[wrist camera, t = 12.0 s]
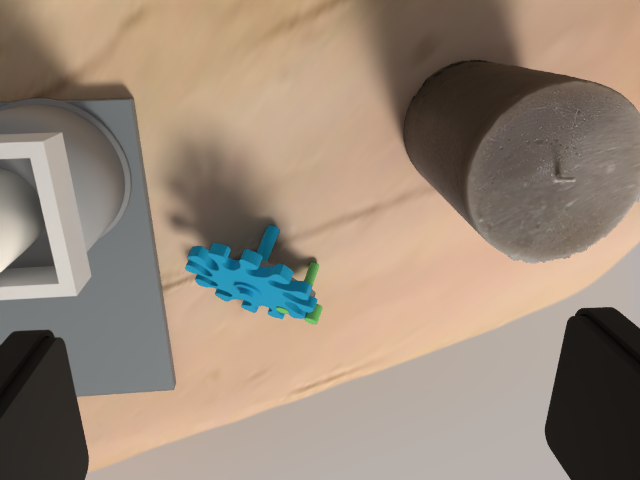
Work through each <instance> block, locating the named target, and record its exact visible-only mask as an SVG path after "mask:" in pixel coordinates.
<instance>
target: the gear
mask: <svg viewBox="0 0 640 480" xmlns="http://www.w3.org/2000/svg"><path fill="white" fill-rule="evenodd" d="M279 232H280V230H279V229H278V228H277V227H275V226H273V225H268V226H267V229H266V231H265V234H264V236H263V238H262V241H261V243H260V246H259V248H258V250H257V253H256V252H254V251H251V250H249V249H245V250H244V251H243V254H242V256H241V258H240V260H234V259H231V258H229V257H228V256H229V253H230V251H231V249H230V248H229V247H228V246H226V245H222V244H218V243H212V246H211V248H210V250H209V251H208V250H207V249H206V248H204V247H202V246H195V247H192V249H191V251H190V253H189V255H188V258H189V261H188V263H187V265H186V267H185V269H186V270H187V271H189V272H192V273H195V274H197V276H196V278H195V280H196V282H197V283H198V284H199V285H200V286H203V287H212V288H217V290H216V292H215V295H216V296H218V297H219V298H221V299H222V300H224V301H230V300H232V299H239V300H244V301H243V303H242V306H241V307H242V308H244V309H246V310H249V311H251V312H257V309H258V307H259V306H266V307H269V311H268V314H269V315H270V316H272V317H276V318H280V319H283V318H284V315H285V314H288V313H289V315H290V316H291V317H293V318H299V319H302V318H305V321H306V322H308V323H311V324H317V323H318V320H319V317H320V314H321V311H322V306H320V305H318V304H316V303H317V299H316V298H314V297H315V292H314V291H313V290H312V285H313V282H314V279H315V276H316V274H317V271H318V268H319V265H318V264H317V263H314V262H311V263H310V266H309V269H308V271H307V274H306V277H305V280H304V281H297V280H295V279H294V278H292V275H293V271H292V270H291V269H289V268H288V267H287V266H285V265H284V264H276V265H275V266H272V265H270V264H269V263H267V261H268V259H269V256H270V254H271V251H272V249H273V247H274V244H275V242H276V239H277V237H278V234H279Z"/></svg>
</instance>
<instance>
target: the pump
mask: <svg viewBox="0 0 640 480" xmlns="http://www.w3.org/2000/svg"><path fill="white" fill-rule="evenodd" d="M44 226H45V220H44V216H43V212H42V208H41V203H40V199H39V195H38V193H37V192H36V190H35V189H34V188H33V187H32V186H31V185H30V184H29V183H28V182H27V181H26V180H25V179H23V178H22V177H20V176H19V175H17V174H15V173H13V172H10V171H7V170H4V169H0V272H2V271H3V270H4V269H5V268H6V267H7V266H8V265H10V264H11V263H12V262H13V261H14V260H15V259H16V258H17V257H19V256H20V255H21V254H22V253H23V252H24V251H25V250H26V249H28V248H29V247H30V246H31V245H32V244H33V243H34V242H35V241H36V240H37V239H38V238H39V237H40V235H41V234H42V232H43V230H44Z"/></svg>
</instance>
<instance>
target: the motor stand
mask: <svg viewBox="0 0 640 480" xmlns="http://www.w3.org/2000/svg"><path fill="white" fill-rule="evenodd" d="M0 169H4V170H7V171H10V172H13V173H15V174H17V175H19V176H20V177H22V178H23V179H25V180H26V181H27V182H28V183H29V184H30V185H31V186H32V187H33V188H34V189H35V190H36V192H37V193H38V195H39V199H40V203H41V208H42V212H43V216H44V220H45V226H44V230H43V232H42V234H41V235H40V237H39V238H38V239H37V240H36V241H35V242H34V243H33V244H32V245H31V246H30V247H29V248H28V249H26V250H25V251H24V252H23V253H22V254H21V255H20V256H19V257H17V258H16V259H15V260H14V261H13V262H12V263H11V264H10V265H8V266H7V267H6V268H5V269H4V270H3V271H2V272H0V345H1V344H2V343H3V342H4V340H5V339H6V338H7V337H8V336H9V335H10V334H11V333H12V332H13V331H25V330H50V331H52V332H53V334H54V336H55V337H61V338H63V340H64V342H65V345H66V349H67V354H68V359H69V364H70V369H71V373H72V378H73V383H74V388H75V392H76V397H79V396H94V395H109V394H123V393H138V392H152V391H167V390H174V388H175V385H176V379H175V372H174V365H173V359H172V352H171V345H170V339H169V332H168V325H167V318H166V312H165V305H164V298H163V292H162V285H161V278H160V271H159V265H158V258H157V251H156V244H155V238H154V231H153V224H152V218H151V211H150V204H149V197H148V191H147V184H146V177H145V171H144V164H143V157H142V150H141V144H140V137H139V130H138V124H137V117H136V110H135V103H134V98H124V99H89V100H55V99H49V98H33V99H25V100H21V101H17V102H0Z"/></svg>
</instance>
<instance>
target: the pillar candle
mask: <svg viewBox="0 0 640 480" xmlns="http://www.w3.org/2000/svg"><path fill="white" fill-rule="evenodd" d="M404 141H405V146H406V150H407V154H408V156H409V158H410V161H411V162H412V164H413V165H414V167H415V168H416V170H417V171H418V172H419V173H420V174H421V176H423V177H424V178H425V179H426V180H427V181H428V182H429V183H430V184H431V185H432V186H433V187H434V189H436V190H437V191H438V192H439V193H440V194H441V195H442V196H443V197H444V199H445V200H446V201H447V202H448V203H449V204H450V205H451V206H452V207H453V208H454V209H455V210H456V211H457V212H458V213H459V214H460V215H461V216H462V217H463V218H464V219H465V220H466V221H467V222H468V223H469V224H470V225H471V226H472V227H473V228H474V229H475V230H476V231H477V232H478V233H479V234H480V235H481V236H482V237H483V238H484V239H485V240H486V241H487V242H488V243H489V244H491V245H492V246H493V247H494V248H496V249H498V250H499V251H501V252H503V253H504V254H506V255H508V256H509V257H510V258H511V259H512V260H517V261H518V260H522V261H523V262H526V263H533V264H534V263H538V262H540V261H541V262H543V263H545V262H546V261H548V260H554V259H561V258H564V259H565V258H570V256H571V255H572V254H575V253H577V252H583V251H585V250H587V249H588V248H589V247H590V246H592V245H593V244H595V243H596V242H598V241H599V240H600V239H601V238H603V237H606V236H607V235H608V234H609V233H610V232H611V231H612V230H613V229H614V228H615V227H616V226H617V224H618V223H620V222H621V221H622V220H623V218H624V217H625V216H626V214H627V213H628V211H629V210H630V209H631V208H632V206H633V204H634V203H635V202H638V200H639V198H640V114H639V112H638V111H637V109H636V108H635V106H634V105H633V104H632V103H631V102H630V101H629V100H628V99H627V98H625V97H624V96H623V95H621V94H620V93H619V92H617V91H615V90H613V89H611V88H609V87H607V86H604V85H602V84H599V83H596V82H592V81H588V80H583V79H579V78H575V77H570V76H567V75H561V74H554V73H550V72H544V71H538V70H532V69H528V68H523V67H518V66H509V65H503V64H496V63H491V62H486V61H480V60H471V61H469V62H468V61H461V62H458V63H455V64H451V65H449V66H447V67H445V68H443V69H441V70H439V71H437V72H436V73H435V74H433V75H432V76H431V77H430V78H428V79H427V80H426V81H425V82H424V84H423V86H422V87H421V89H420V90H419V91H418V93H417V95H416V96H415V97H414V98H413V99H412V101H411V103H410V106H409V109H408V111H407V115H406V118H405V124H404Z"/></svg>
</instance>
